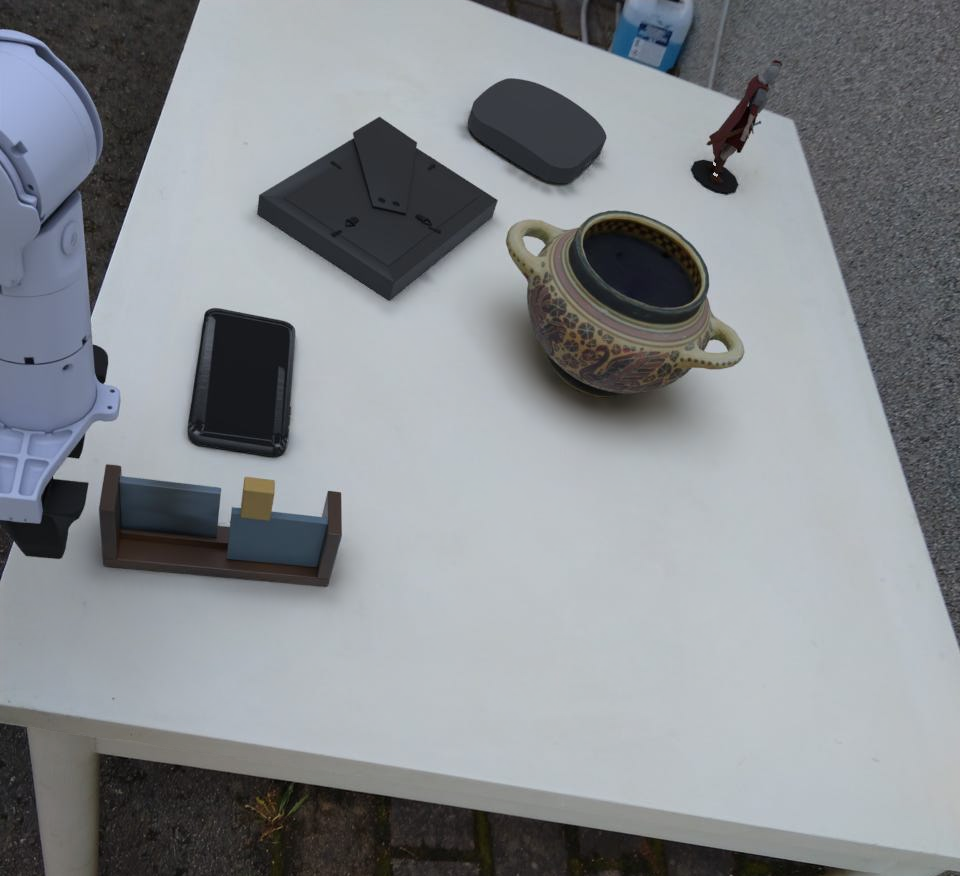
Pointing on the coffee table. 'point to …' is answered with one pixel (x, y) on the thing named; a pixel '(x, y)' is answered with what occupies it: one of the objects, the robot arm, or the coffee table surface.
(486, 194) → the picture frame
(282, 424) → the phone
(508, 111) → the media streaming box
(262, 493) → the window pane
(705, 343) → the ceramic bowl
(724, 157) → the figurine
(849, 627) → the coffee table surface
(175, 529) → the window frame
